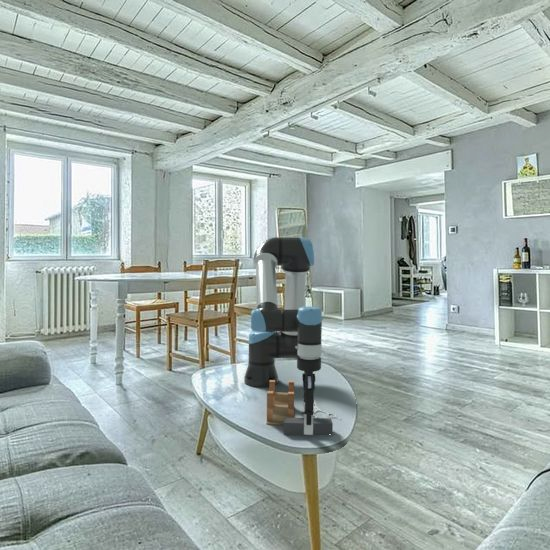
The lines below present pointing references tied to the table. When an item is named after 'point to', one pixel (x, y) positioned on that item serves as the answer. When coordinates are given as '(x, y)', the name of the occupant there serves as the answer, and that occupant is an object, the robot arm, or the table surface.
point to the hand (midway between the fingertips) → (308, 428)
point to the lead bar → (297, 426)
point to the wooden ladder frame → (279, 404)
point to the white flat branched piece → (322, 411)
